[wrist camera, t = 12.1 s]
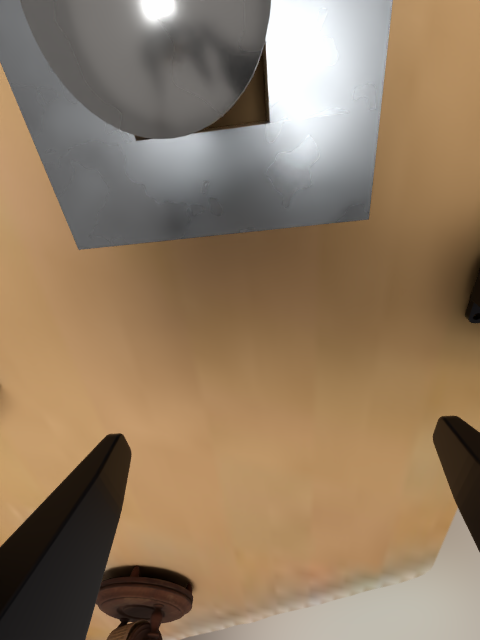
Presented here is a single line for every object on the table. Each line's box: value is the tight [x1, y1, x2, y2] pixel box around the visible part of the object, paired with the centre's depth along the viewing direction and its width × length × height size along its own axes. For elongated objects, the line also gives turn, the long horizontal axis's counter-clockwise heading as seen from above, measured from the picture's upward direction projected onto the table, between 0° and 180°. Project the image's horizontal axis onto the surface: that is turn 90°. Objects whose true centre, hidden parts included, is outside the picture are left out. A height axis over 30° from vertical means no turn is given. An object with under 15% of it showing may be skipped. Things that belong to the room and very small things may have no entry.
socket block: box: [0, 0, 393, 250], centre depth 12 cm, size 14×14×3 cm
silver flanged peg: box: [20, 0, 271, 139], centre depth 10 cm, size 5×5×9 cm
